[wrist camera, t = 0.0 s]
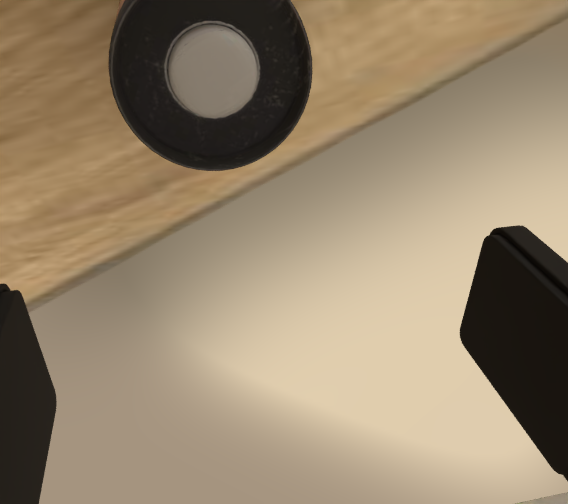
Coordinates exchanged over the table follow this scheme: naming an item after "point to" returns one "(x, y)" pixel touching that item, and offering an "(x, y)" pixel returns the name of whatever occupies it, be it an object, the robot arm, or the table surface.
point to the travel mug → (210, 77)
